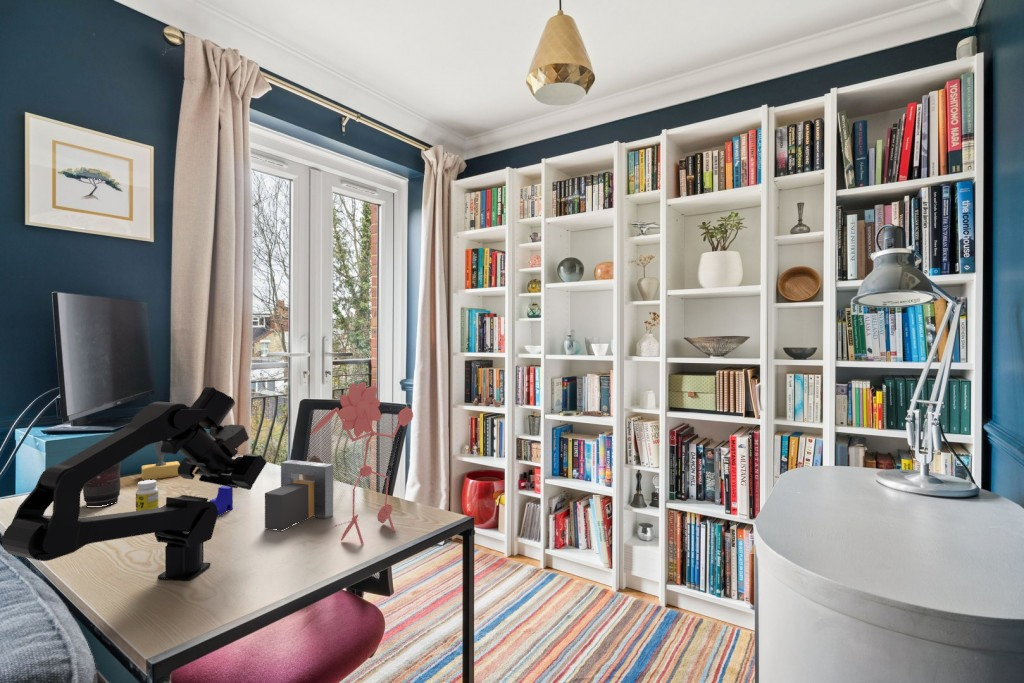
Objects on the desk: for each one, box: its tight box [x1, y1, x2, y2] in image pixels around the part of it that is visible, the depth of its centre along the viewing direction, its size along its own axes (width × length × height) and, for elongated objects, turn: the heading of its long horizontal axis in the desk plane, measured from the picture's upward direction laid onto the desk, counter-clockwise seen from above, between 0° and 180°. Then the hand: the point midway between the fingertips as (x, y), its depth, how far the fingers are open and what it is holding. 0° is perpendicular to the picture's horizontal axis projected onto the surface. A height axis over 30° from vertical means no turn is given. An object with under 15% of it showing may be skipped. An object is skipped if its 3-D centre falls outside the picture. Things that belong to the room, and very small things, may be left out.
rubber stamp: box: [141, 441, 181, 481], centre depth 167 cm, size 10×6×12 cm, turn 128°
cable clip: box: [208, 485, 234, 516], centre depth 131 cm, size 12×4×6 cm, turn 169°
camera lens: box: [82, 461, 122, 507], centre depth 140 cm, size 8×8×15 cm
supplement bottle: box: [135, 479, 160, 511], centre depth 132 cm, size 5×5×8 cm
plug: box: [264, 479, 315, 531], centre depth 128 cm, size 12×5×9 cm, turn 162°
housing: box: [280, 459, 334, 519], centre depth 133 cm, size 3×14×13 cm, turn 72°
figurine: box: [310, 381, 415, 545], centre depth 122 cm, size 15×26×35 cm, turn 145°
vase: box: [301, 455, 324, 481], centre depth 159 cm, size 7×7×9 cm
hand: (244, 486), depth 114 cm, fingers open, 3 cm apart
